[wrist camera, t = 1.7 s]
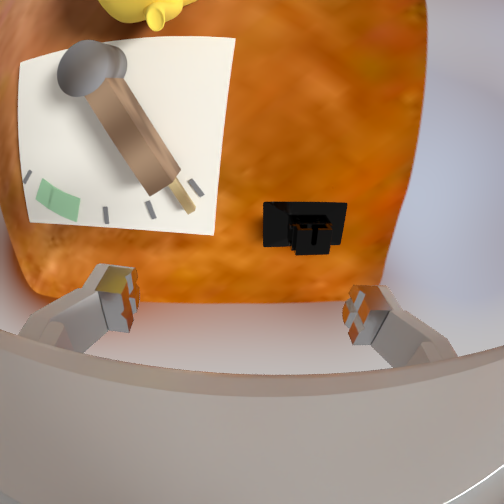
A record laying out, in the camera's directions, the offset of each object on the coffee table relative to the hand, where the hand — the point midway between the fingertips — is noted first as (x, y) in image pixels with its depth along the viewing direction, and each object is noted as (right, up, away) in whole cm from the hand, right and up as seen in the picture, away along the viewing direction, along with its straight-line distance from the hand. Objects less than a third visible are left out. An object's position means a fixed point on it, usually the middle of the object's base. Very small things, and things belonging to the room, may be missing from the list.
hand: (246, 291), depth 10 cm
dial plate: (-14, +13, +14) cm, 24 cm away
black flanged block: (+6, +5, +22) cm, 23 cm away
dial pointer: (-10, +13, +13) cm, 21 cm away
